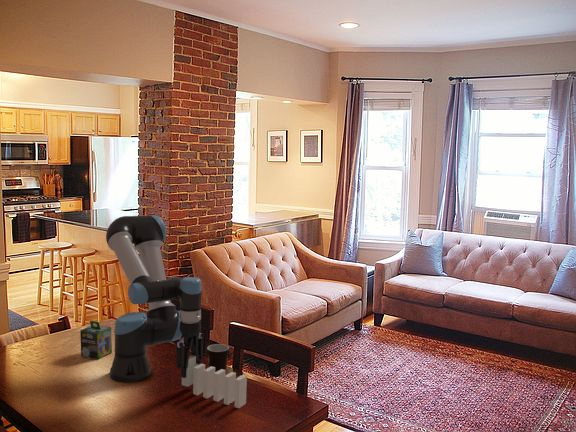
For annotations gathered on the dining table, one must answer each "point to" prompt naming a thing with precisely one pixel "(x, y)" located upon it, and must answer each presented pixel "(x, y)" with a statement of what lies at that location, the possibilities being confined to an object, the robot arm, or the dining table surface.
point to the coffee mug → (218, 356)
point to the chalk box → (96, 341)
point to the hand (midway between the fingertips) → (189, 382)
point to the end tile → (191, 368)
